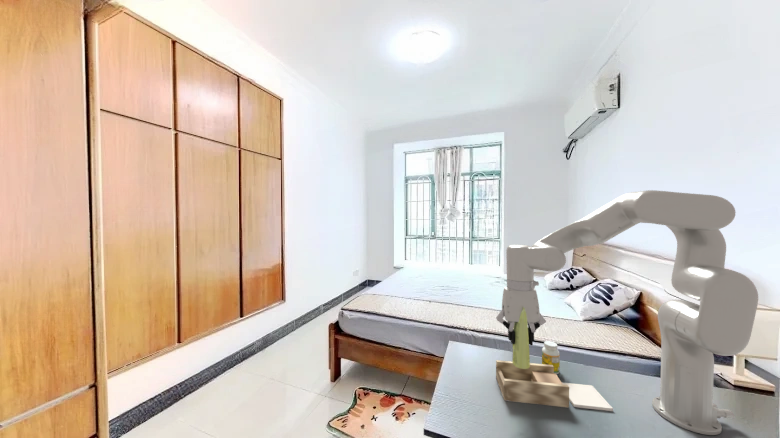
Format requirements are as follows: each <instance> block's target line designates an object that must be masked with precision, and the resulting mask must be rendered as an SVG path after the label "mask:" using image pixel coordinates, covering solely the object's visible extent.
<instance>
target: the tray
mask: <svg viewBox="0 0 780 438" xmlns="http://www.w3.org/2000/svg"><path fill="white" fill-rule="evenodd" d="M532 371H538V372H547V373H554V367H553V365H546V364H542V363H533V362H530V367H529V368H528V369H520V368H518V367H516V366H514V365H513V363H512V361H511V360H510V361H509V360H497V359H496V360H495V378H496V382H497V384H498V387H499V390H500V392H501V396H502V397H503V400H504V401H506V402H515V403H525V404H532V405H533V404H534V405H542V406H549V407H550V406H551V407H559V408H560V407H561V408H570V401H569V386H568V385H564V384H554V383H544V382H534V381H531V379H532Z"/></svg>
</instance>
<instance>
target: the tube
mask: <svg viewBox="0 0 780 438" xmlns="http://www.w3.org/2000/svg"><path fill="white" fill-rule="evenodd" d="M513 330H514V332H515V344H512V356H511V357H512V363H513V365H514V366H516V367H518V368H520V369H528V368H529V367H530V363H531V362H530V361H531V360H530V359H531V357H530V344H529V336H528V324H527V315H526V311H525V308H524V307H523V310H522V312H521V314H520V318H519V322H515V324H514V328H513Z"/></svg>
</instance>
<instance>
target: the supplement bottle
mask: <svg viewBox="0 0 780 438" xmlns="http://www.w3.org/2000/svg"><path fill="white" fill-rule="evenodd" d="M560 358H561V357H560V351H559V350H558V344H557V343H556V342H554V341H550V340H545V341H543V347H542V348H541V364H546V365H553V367H554V373H555V374H556V375H559V374H560V372H561V371H560V368H561V367H560V366H561V365H560V364H561V363H560V361H561V360H560Z"/></svg>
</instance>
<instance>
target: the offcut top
mask: <svg viewBox="0 0 780 438" xmlns="http://www.w3.org/2000/svg"><path fill="white" fill-rule="evenodd" d="M532 380H533V381H534V382H544V383H554V384H562V383H563V382H562V381H561V380H560V378H559V377H558V374H555V373H547V372H538V371H532Z"/></svg>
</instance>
